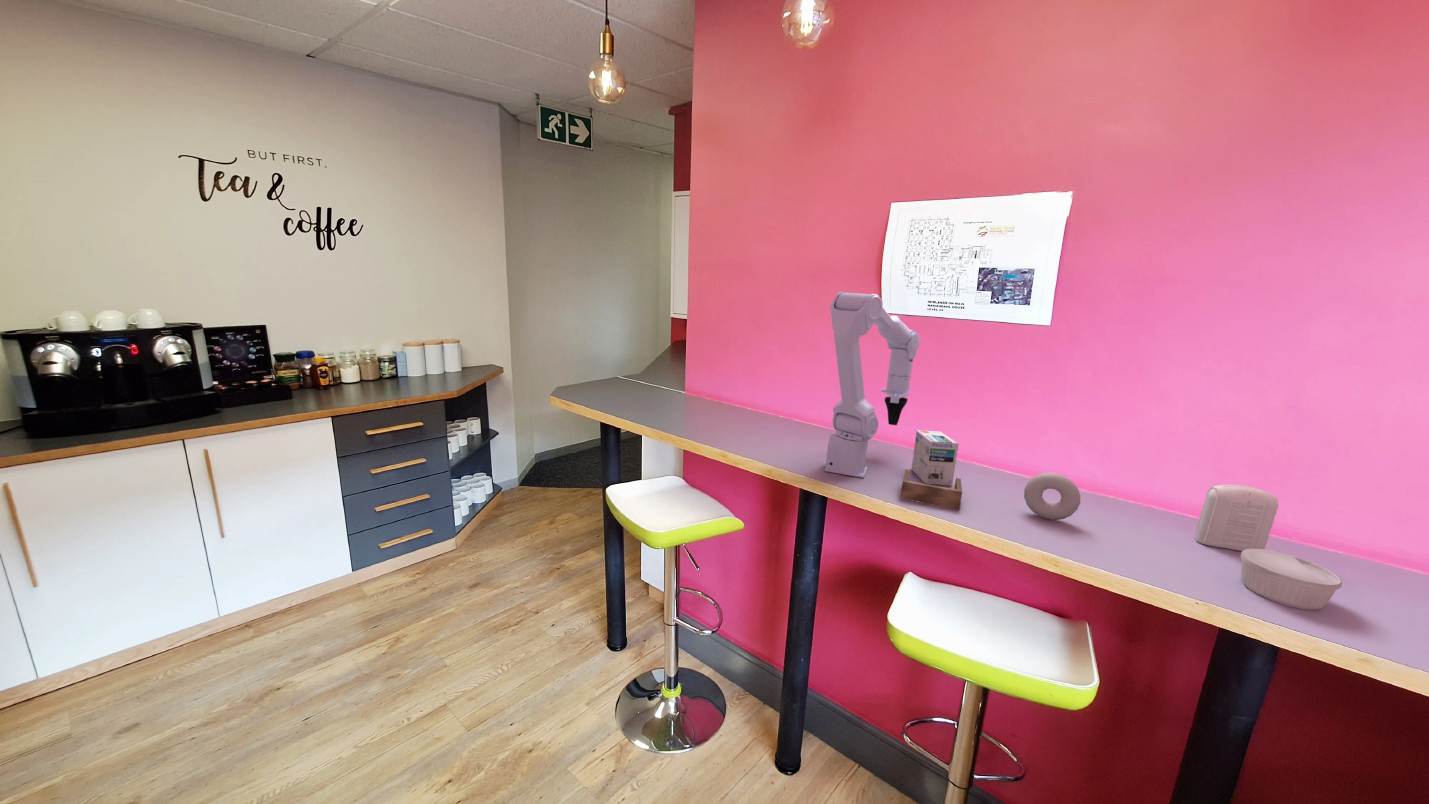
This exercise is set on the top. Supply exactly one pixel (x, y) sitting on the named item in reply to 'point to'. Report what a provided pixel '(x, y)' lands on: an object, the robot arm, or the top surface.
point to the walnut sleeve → (932, 493)
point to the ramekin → (1288, 579)
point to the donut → (1048, 510)
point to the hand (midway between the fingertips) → (892, 424)
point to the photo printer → (1236, 517)
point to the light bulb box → (934, 457)
